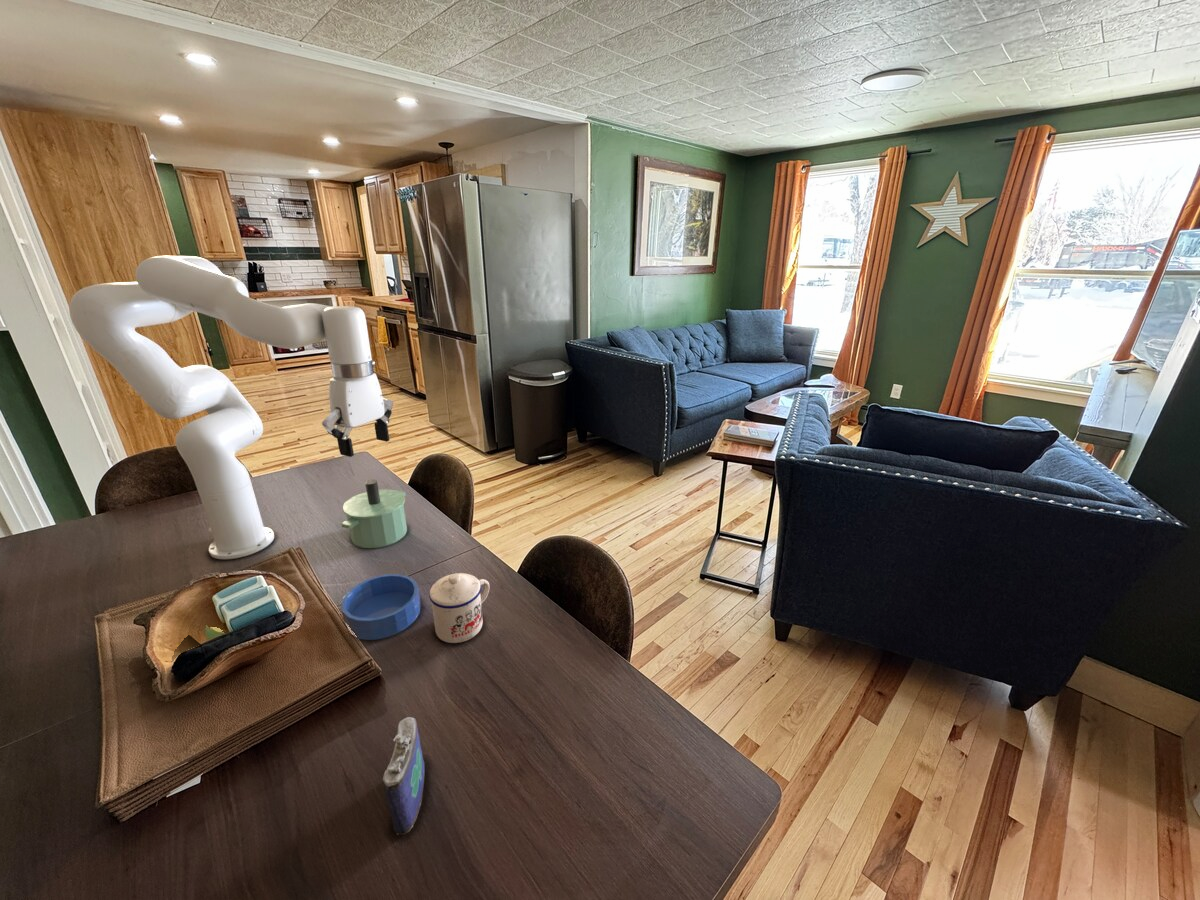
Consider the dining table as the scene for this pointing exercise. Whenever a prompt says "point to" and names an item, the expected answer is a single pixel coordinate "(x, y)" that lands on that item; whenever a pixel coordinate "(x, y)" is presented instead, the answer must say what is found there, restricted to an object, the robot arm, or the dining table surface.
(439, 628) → the teacup with lid
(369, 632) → the bowl
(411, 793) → the flask
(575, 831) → the dining table surface
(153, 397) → the robot arm
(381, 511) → the lid
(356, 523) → the pot
